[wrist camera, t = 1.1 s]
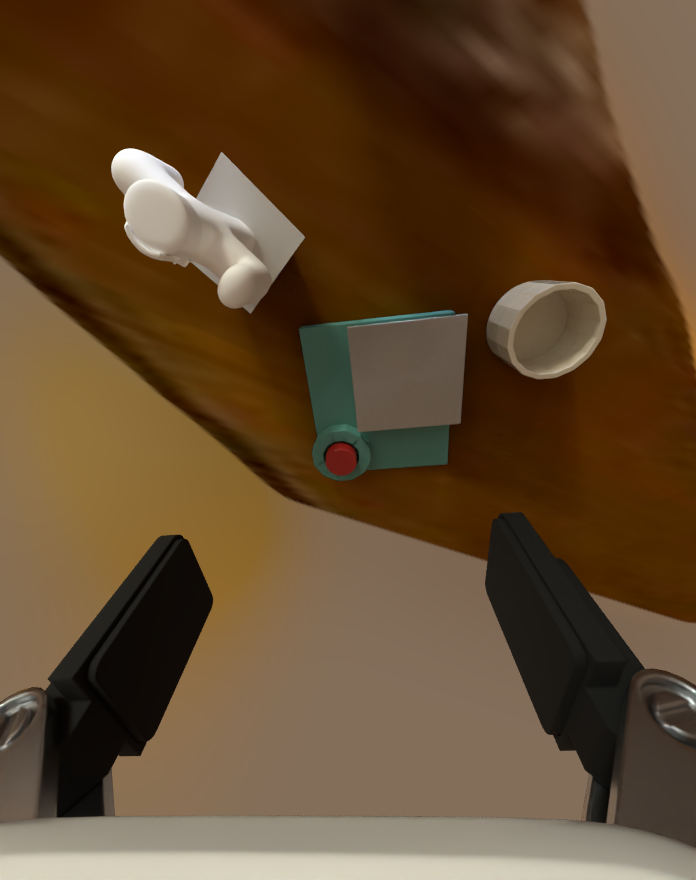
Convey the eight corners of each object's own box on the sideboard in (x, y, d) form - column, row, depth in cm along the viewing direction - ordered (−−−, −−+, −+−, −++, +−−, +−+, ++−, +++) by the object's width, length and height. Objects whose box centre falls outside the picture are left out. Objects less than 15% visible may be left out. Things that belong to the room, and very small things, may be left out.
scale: (295, 326, 30) (289, 332, 28) (450, 309, 29) (460, 314, 26) (320, 467, 38) (317, 482, 35) (444, 458, 37) (451, 472, 34)
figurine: (227, 154, 24) (72, 20, 11) (321, 251, 27) (286, 234, 14) (181, 237, 27) (13, 208, 14) (271, 317, 30) (203, 356, 17)
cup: (490, 285, 28) (515, 289, 24) (576, 275, 28) (618, 277, 23) (482, 366, 32) (502, 382, 27) (559, 359, 31) (592, 374, 27)
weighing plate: (348, 321, 30) (346, 327, 27) (456, 309, 29) (468, 314, 26) (357, 417, 35) (357, 432, 31) (451, 409, 34) (460, 423, 31)
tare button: (324, 443, 33) (323, 450, 32) (355, 440, 33) (355, 448, 32) (328, 468, 35) (327, 477, 33) (357, 466, 34) (357, 474, 33)
